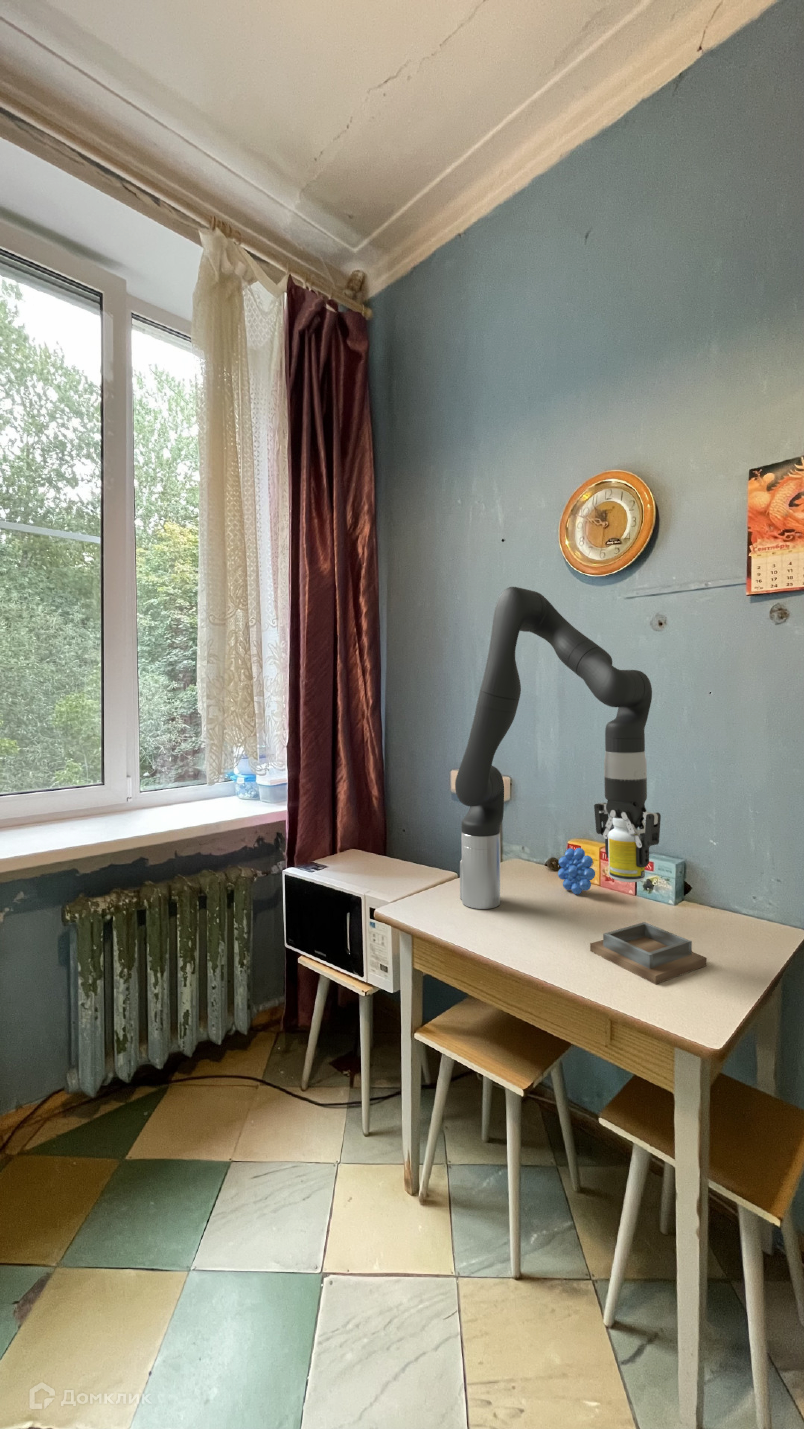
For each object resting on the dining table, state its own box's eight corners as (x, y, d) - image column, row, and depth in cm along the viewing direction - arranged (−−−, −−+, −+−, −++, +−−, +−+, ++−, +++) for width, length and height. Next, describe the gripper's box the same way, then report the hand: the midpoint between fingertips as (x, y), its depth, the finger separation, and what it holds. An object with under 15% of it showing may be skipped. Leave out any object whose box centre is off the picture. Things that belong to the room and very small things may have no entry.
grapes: (606, 897, 144) (606, 849, 144) (587, 903, 141) (587, 853, 141) (570, 884, 155) (571, 839, 154) (551, 889, 151) (552, 843, 151)
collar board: (590, 950, 115) (590, 930, 115) (639, 936, 122) (639, 917, 122) (655, 984, 102) (655, 961, 102) (706, 965, 109) (706, 944, 109)
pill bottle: (641, 885, 108) (640, 822, 107) (604, 880, 111) (603, 819, 111) (647, 876, 113) (647, 815, 113) (613, 871, 117) (612, 813, 116)
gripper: (671, 777, 107) (672, 868, 107) (610, 769, 120) (611, 851, 120) (642, 781, 103) (644, 875, 104) (582, 772, 116) (584, 856, 117)
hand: (626, 861), depth 112 cm, fingers closed on pill bottle, 6 cm apart
